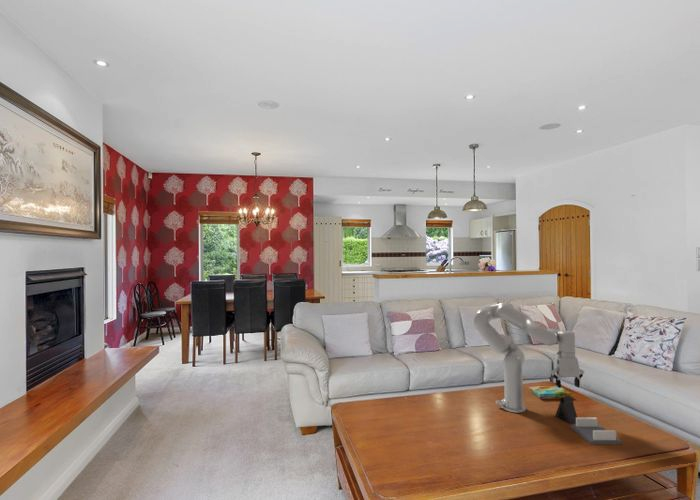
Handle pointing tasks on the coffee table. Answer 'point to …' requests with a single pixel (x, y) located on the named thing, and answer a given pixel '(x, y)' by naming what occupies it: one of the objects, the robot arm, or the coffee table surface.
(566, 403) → the phone stand
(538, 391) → the puzzle game
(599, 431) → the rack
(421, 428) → the coffee table surface
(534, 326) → the robot arm
